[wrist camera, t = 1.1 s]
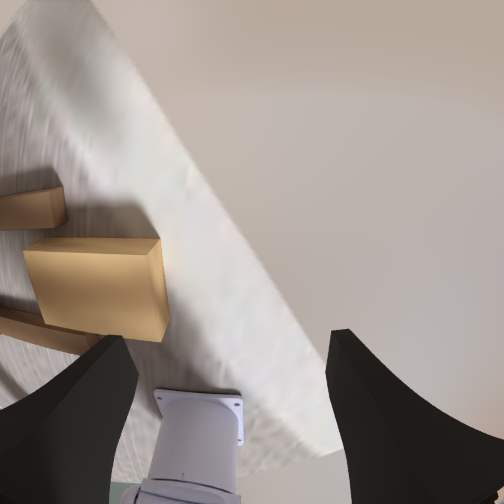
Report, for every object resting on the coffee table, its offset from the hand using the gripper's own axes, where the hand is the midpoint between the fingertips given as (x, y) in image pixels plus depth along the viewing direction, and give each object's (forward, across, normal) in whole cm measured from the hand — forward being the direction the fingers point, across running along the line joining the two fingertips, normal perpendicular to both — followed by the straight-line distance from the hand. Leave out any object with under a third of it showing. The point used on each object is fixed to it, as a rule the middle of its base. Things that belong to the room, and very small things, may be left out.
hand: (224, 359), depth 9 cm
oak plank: (+9, +10, +1) cm, 14 cm away
